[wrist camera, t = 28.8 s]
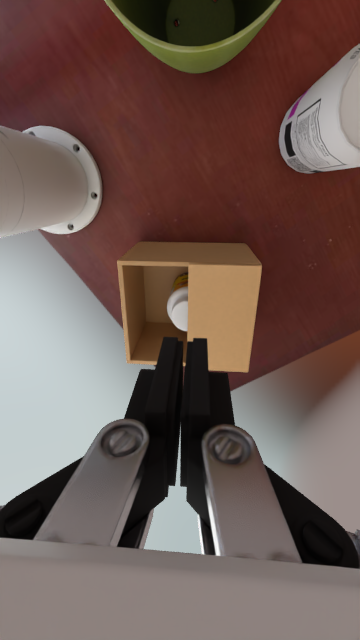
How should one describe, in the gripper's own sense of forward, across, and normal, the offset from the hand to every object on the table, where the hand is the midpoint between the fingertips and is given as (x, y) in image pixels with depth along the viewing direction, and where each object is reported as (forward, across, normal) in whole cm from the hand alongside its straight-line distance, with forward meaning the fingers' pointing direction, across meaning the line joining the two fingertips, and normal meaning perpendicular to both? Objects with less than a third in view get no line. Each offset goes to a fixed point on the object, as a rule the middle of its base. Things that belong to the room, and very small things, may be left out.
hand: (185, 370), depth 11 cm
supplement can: (+31, -13, -12) cm, 36 cm away
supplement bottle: (+31, +1, +7) cm, 32 cm away
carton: (+31, +1, +7) cm, 32 cm away
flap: (+19, -3, +7) cm, 21 cm away
